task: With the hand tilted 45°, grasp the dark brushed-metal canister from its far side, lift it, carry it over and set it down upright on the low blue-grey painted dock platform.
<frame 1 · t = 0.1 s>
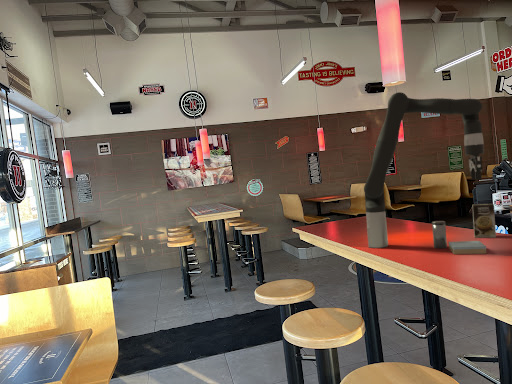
hand: (476, 179, 172), 29 cm above the table, tool pointing down, fingers open, 8 cm apart
coffee box: (485, 237, 186), on the table
canister: (440, 247, 172), on the table
dock: (466, 250, 160), on the table
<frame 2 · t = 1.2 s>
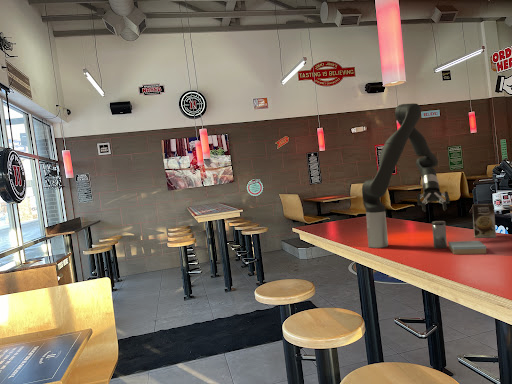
hand: (434, 210, 182), 16 cm above the table, tool tilted 45°, fingers open, 8 cm apart
nothing on the table moved.
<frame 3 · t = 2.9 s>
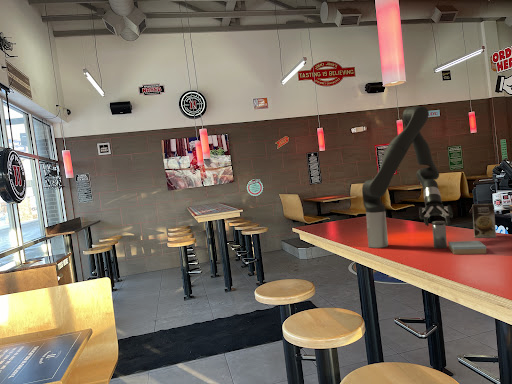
hand: (437, 224, 175), 10 cm above the table, tool tilted 45°, fingers open, 8 cm apart
nothing on the table moved.
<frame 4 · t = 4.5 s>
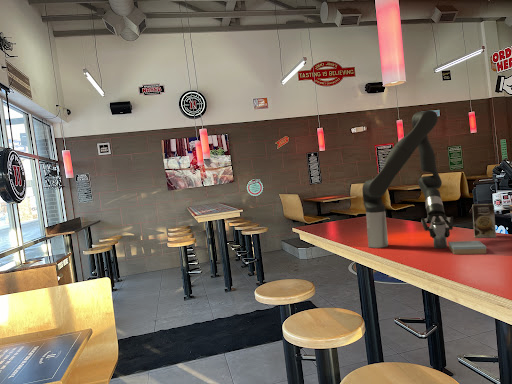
hand: (440, 236, 170), 5 cm above the table, tool tilted 45°, fingers closed on canister, 5 cm apart
canister: (440, 247, 172), on the table, touching gripper
everything else where it was.
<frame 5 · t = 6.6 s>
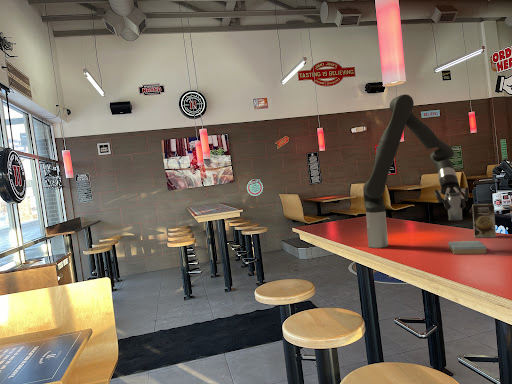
hand: (455, 207, 163), 18 cm above the table, tool tilted 45°, fingers closed on canister, 5 cm apart
canister: (455, 219, 164), point 13 cm above the table, touching gripper
everything else where it was.
when the fingers open (10 cm above the table, at t = 9.0 s): canister drops 1 cm, resting on dock.
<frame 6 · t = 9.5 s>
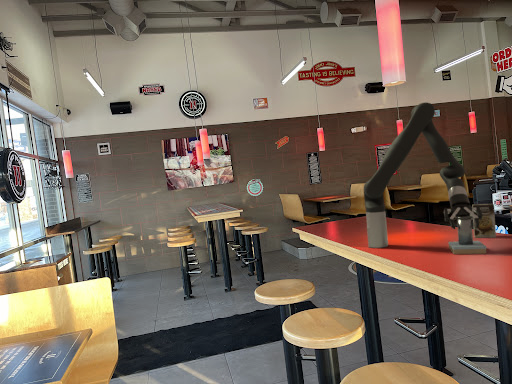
hand: (465, 227, 159), 10 cm above the table, tool tilted 45°, fingers open, 8 cm apart
canister: (465, 243, 160), point 3 cm above the table, touching dock
everything else where it was.
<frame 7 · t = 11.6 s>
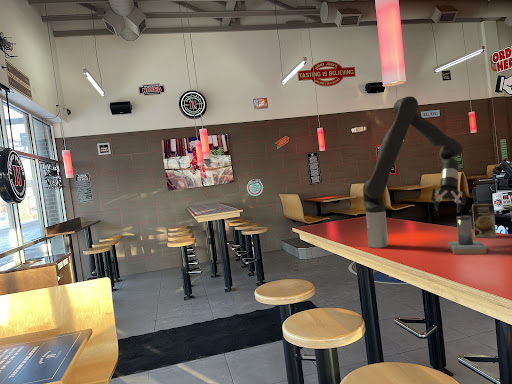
hand: (447, 210, 173), 16 cm above the table, tool tilted 30°, fingers open, 8 cm apart
nothing on the table moved.
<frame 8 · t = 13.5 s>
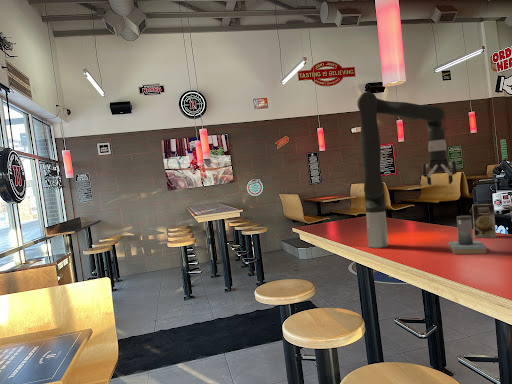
hand: (440, 184, 178), 28 cm above the table, tool pointing down, fingers open, 8 cm apart
nothing on the table moved.
at the end: canister inside the target area on the dock (0.3 cm from its centre), point 3.0 cm above the dock's base; canister tilted 0°; the gripper is holding nothing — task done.
